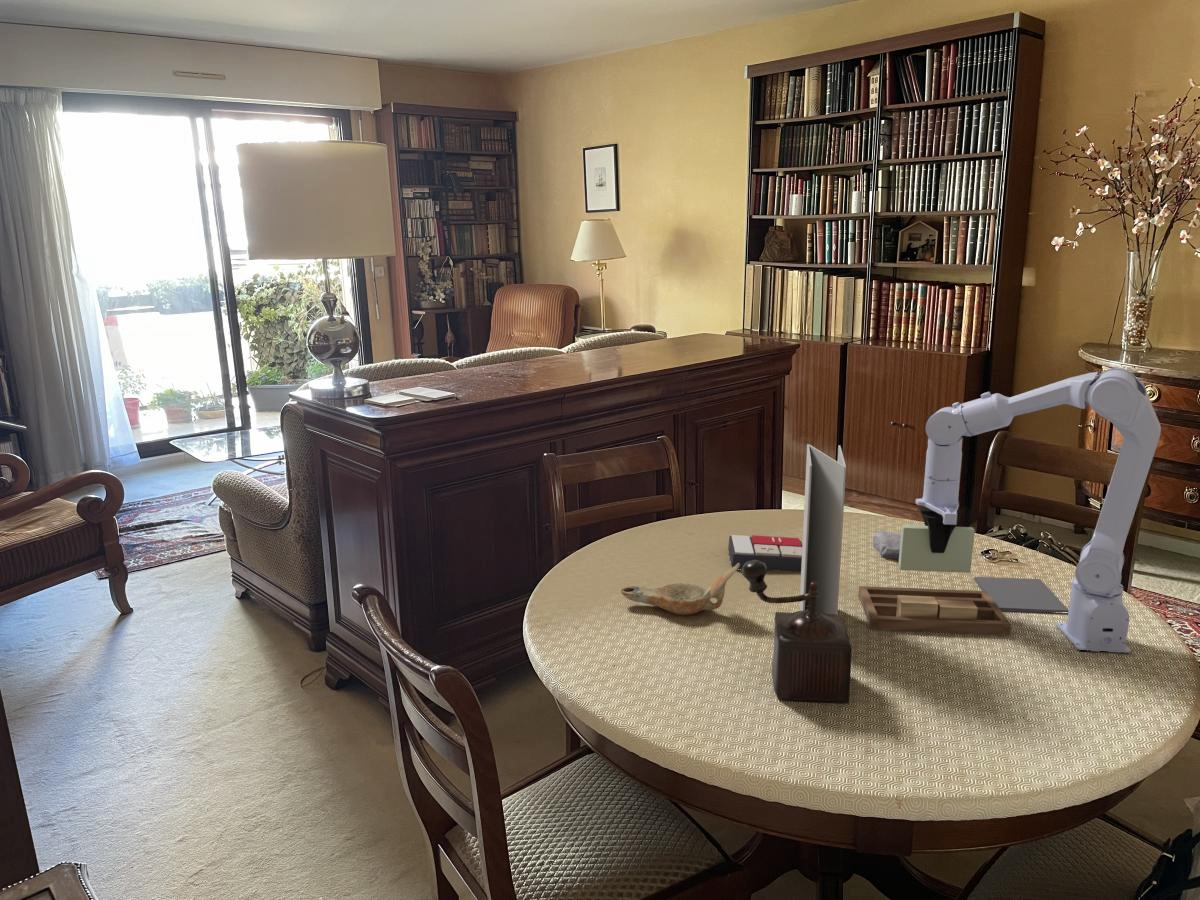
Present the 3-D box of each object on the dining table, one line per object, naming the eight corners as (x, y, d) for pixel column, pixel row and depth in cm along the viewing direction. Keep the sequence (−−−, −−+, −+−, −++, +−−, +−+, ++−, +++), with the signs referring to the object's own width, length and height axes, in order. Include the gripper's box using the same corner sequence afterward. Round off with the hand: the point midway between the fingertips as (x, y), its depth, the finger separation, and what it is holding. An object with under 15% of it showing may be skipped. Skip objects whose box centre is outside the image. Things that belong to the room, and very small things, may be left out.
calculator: (809, 555, 170) (733, 550, 170) (807, 575, 171) (731, 571, 172) (801, 536, 180) (729, 531, 181) (799, 555, 181) (727, 551, 182)
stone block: (940, 570, 175) (927, 544, 184) (943, 550, 173) (929, 525, 181) (881, 571, 176) (870, 545, 185) (882, 551, 174) (872, 526, 183)
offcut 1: (936, 628, 146) (938, 604, 144) (899, 626, 146) (901, 602, 145) (931, 620, 148) (933, 596, 147) (895, 619, 149) (897, 595, 148)
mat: (1068, 613, 150) (1069, 610, 150) (996, 610, 152) (997, 607, 151) (1039, 582, 163) (1040, 579, 163) (974, 579, 165) (974, 576, 165)
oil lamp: (735, 626, 147) (736, 572, 145) (615, 613, 153) (614, 561, 150) (740, 605, 155) (742, 554, 153) (626, 594, 161) (626, 544, 158)
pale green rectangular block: (970, 573, 152) (974, 530, 150) (900, 570, 153) (903, 527, 151) (967, 569, 153) (972, 527, 151) (898, 566, 155) (901, 524, 153)
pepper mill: (839, 666, 133) (845, 558, 129) (850, 705, 122) (858, 588, 118) (738, 662, 135) (741, 555, 130) (740, 699, 124) (744, 584, 120)
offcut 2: (975, 630, 145) (977, 608, 144) (938, 628, 145) (940, 607, 144) (970, 622, 148) (972, 601, 147) (934, 620, 148) (936, 599, 147)
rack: (1009, 635, 142) (1011, 624, 142) (871, 629, 145) (871, 618, 145) (985, 601, 155) (986, 591, 155) (858, 596, 158) (859, 586, 158)
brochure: (835, 642, 141) (846, 467, 133) (801, 640, 142) (809, 465, 134) (831, 606, 154) (840, 445, 147) (799, 604, 155) (807, 444, 148)
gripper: (909, 465, 156) (904, 535, 160) (928, 488, 142) (922, 564, 146) (949, 465, 155) (943, 536, 159) (972, 489, 142) (965, 565, 145)
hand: (936, 550), depth 152 cm, fingers closed on pale green rectangular block, 2 cm apart
